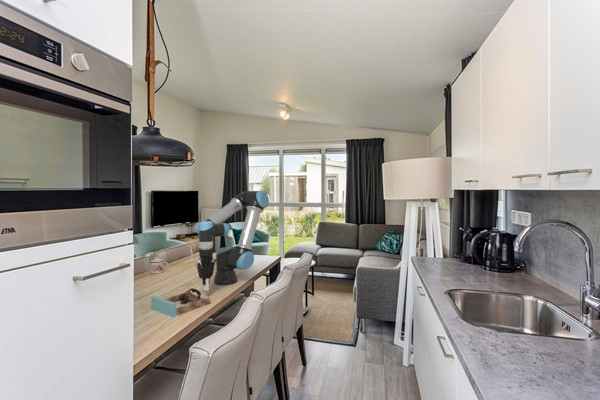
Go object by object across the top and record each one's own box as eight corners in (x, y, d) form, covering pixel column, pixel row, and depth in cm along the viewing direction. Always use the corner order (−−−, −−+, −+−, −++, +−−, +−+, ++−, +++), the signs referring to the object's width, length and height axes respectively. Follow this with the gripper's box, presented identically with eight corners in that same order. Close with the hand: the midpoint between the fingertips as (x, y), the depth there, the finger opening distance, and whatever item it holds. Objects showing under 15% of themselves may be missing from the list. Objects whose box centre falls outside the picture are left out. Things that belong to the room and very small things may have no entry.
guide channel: (188, 296, 174) (188, 291, 174) (210, 303, 163) (210, 298, 163) (155, 307, 157) (154, 301, 157) (176, 315, 146) (176, 309, 146)
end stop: (155, 307, 157) (154, 295, 157) (176, 315, 146) (176, 303, 146) (151, 308, 156) (151, 297, 156) (172, 317, 145) (172, 304, 145)
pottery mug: (189, 298, 172) (196, 286, 171) (198, 309, 167) (205, 297, 166) (171, 299, 162) (179, 286, 161) (180, 311, 157) (188, 297, 156)
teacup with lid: (150, 274, 223) (149, 258, 223) (151, 271, 231) (151, 256, 231) (167, 272, 227) (167, 257, 227) (168, 270, 235) (168, 255, 235)
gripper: (200, 250, 164) (200, 294, 165) (219, 247, 175) (219, 288, 175) (192, 249, 169) (192, 291, 169) (211, 246, 179) (211, 286, 180)
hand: (206, 289), depth 172 cm, fingers closed
